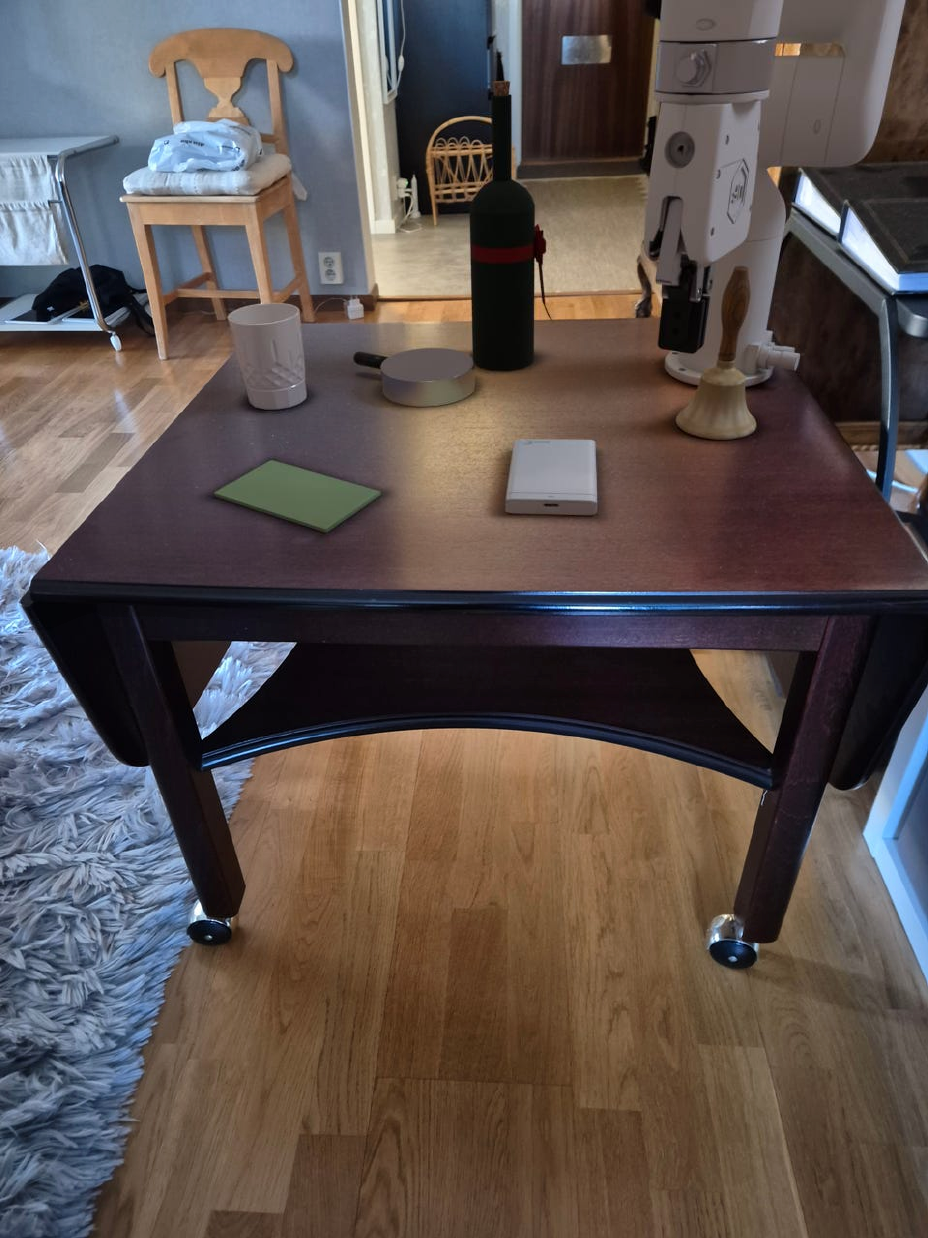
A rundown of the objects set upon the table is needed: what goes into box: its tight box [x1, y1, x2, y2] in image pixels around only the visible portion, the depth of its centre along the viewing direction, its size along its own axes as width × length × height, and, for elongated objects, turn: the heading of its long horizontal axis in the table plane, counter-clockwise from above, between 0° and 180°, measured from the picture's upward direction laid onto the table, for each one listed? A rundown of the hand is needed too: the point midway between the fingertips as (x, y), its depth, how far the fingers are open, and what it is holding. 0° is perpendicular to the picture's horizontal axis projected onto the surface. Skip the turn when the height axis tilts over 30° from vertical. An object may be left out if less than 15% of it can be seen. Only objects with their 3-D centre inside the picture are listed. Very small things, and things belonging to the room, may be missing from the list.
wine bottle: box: [468, 80, 555, 372], centre depth 99 cm, size 8×10×30 cm
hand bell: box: [675, 266, 757, 441], centre depth 85 cm, size 8×8×16 cm
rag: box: [213, 459, 382, 534], centre depth 80 cm, size 14×8×1 cm, turn 57°
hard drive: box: [505, 438, 598, 516], centre depth 80 cm, size 2×8×12 cm
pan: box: [352, 347, 476, 408], centre depth 101 cm, size 16×11×3 cm, turn 57°
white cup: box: [227, 302, 308, 411], centre depth 97 cm, size 8×8×10 cm
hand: (680, 347), depth 67 cm, fingers closed
